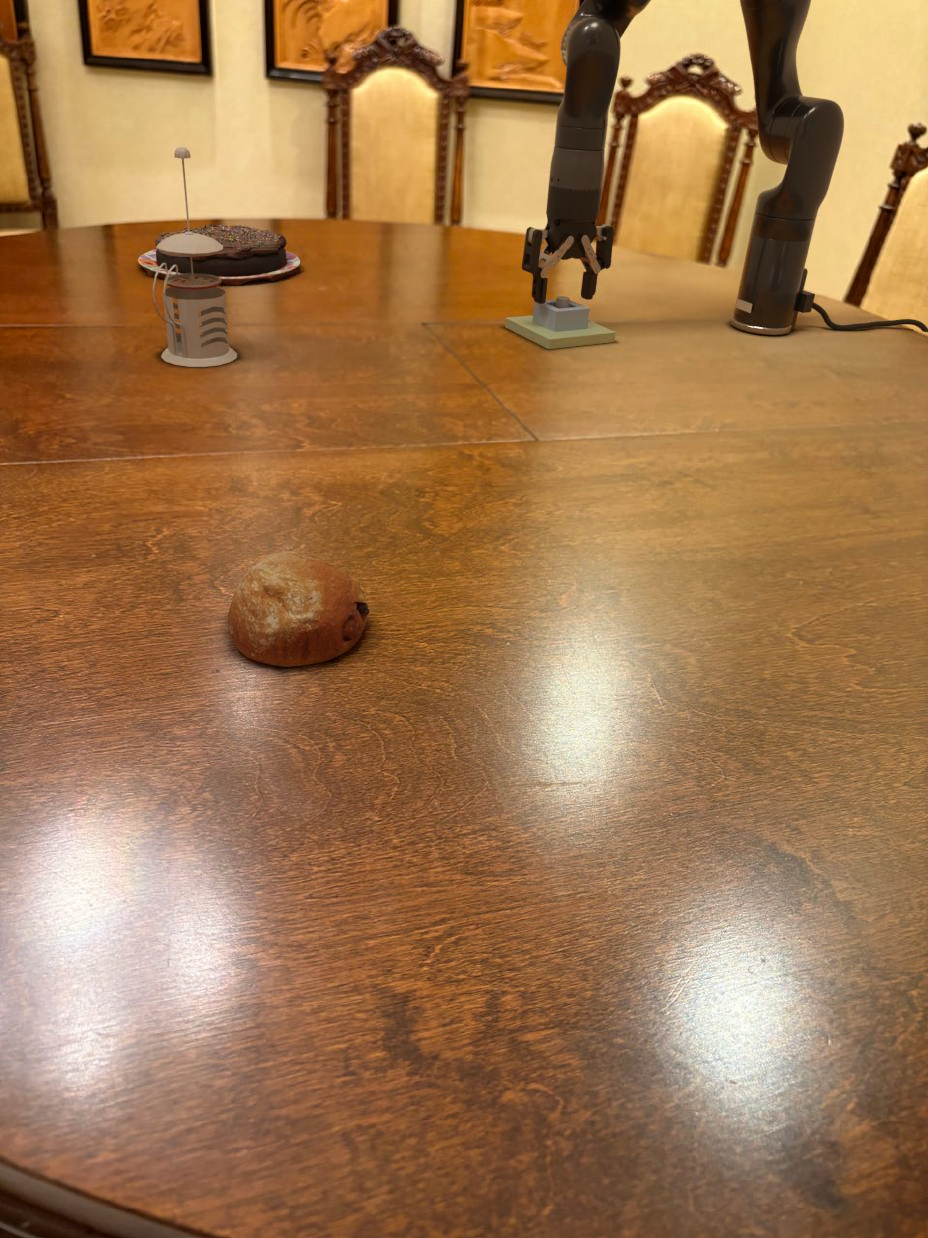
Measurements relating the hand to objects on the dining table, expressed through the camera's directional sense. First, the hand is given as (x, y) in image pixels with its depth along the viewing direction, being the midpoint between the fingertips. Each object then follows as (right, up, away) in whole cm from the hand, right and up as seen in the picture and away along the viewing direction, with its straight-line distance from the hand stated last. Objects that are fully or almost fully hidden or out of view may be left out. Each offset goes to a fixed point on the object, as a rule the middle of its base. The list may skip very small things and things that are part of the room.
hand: (563, 300), depth 145 cm
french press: (-50, -13, -17) cm, 55 cm away
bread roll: (-27, -49, -72) cm, 91 cm away
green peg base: (0, -4, +2) cm, 5 cm away
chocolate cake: (-58, +15, +27) cm, 65 cm away
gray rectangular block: (0, -3, +2) cm, 4 cm away
